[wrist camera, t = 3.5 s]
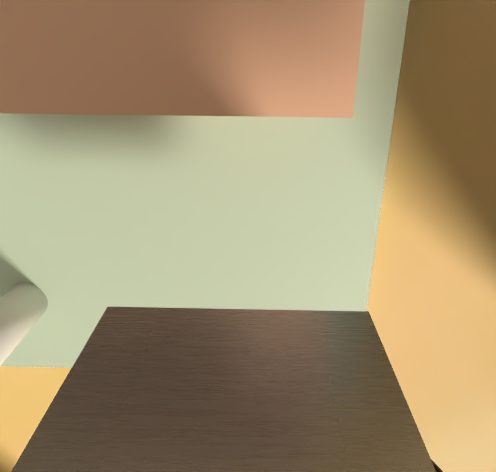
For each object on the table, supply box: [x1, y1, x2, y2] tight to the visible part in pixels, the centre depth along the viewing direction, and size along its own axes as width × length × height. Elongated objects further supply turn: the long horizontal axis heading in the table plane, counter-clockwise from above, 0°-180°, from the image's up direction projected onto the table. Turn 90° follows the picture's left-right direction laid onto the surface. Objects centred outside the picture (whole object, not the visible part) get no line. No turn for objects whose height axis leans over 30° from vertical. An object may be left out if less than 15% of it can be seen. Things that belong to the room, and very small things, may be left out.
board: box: [0, 0, 410, 368], centre depth 12 cm, size 18×16×4 cm
